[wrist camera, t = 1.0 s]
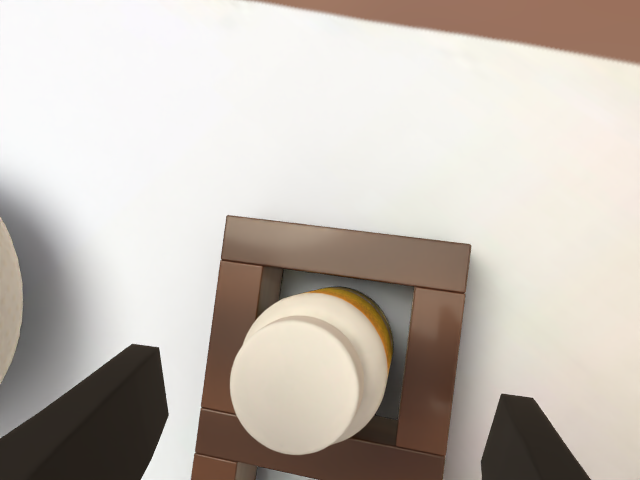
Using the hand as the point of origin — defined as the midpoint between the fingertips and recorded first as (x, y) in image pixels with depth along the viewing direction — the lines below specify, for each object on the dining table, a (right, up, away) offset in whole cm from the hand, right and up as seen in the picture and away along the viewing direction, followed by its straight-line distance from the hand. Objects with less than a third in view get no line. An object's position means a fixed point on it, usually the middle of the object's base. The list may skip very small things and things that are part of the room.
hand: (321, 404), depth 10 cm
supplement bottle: (+1, -1, +14) cm, 14 cm away
